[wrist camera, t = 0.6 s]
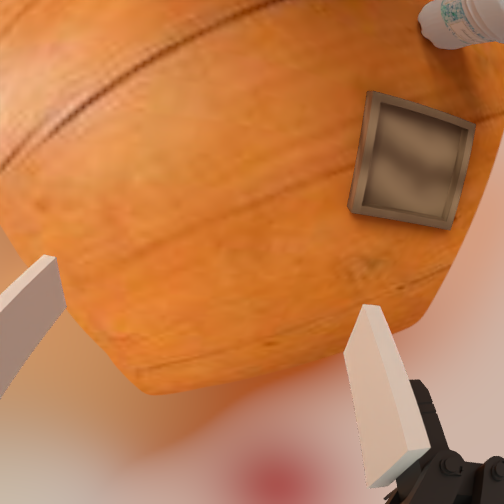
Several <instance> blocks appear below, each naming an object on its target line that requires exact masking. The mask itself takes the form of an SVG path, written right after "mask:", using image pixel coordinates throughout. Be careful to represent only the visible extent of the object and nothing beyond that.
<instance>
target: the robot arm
mask: <svg viewBox="0 0 504 504" xmlns="http://www.w3.org/2000/svg"><path fill="white" fill-rule="evenodd" d="M66 307H67V306H66V302H65V297H64V293H63V289H62V284H61V279H60V274H59V269H58V264H57V258H56V257H53V256H48V255H43V256H42V257H41V258H39V259H38V260H37V261H36V262H35V263H34V264H33V265H32V266H30V267H29V268H28V269H27V270H26V271H25V272H24V273H23V274H22V275H21V276H20V277H19V278H17V279H16V280H15V281H14V282H13V283H12V284H11V285H10V286H9V287H8V288H7V289H6V290H5V291H4V292H3V293H2V294H1V295H0V399H1V397H2V396H3V394H4V393H5V391H6V390H7V388H8V386H9V385H10V383H11V382H12V380H13V379H14V378H15V376H16V375H17V373H18V372H19V370H20V369H21V367H22V366H23V364H24V363H25V361H26V360H27V359H28V357H29V356H30V354H31V353H32V352H33V350H34V349H35V347H36V346H37V345H38V344H39V342H40V341H41V340H42V338H43V337H44V336H45V334H46V333H47V331H48V330H49V329H50V328H51V326H52V325H53V324H54V323H55V321H56V320H57V319H58V317H59V316H60V315H61V313H62V312H63V311H64V310H65V309H66ZM343 354H344V358H345V363H346V368H347V373H348V378H349V383H350V388H351V393H352V399H353V404H354V409H355V415H356V421H357V426H358V433H359V439H360V445H361V451H362V457H363V463H364V471H365V478H366V486H367V488H376V487H385V486H388V485H389V484H391V483H392V482H393V481H394V480H396V482H397V488H396V489H394V490H393V491H392V492H390V493H389V494H388V495H387V496H386V497H385V498H384V500H387V499H388V498H389V499H388V501H387V502H386V503H385V504H504V458H502V457H500V456H493V457H491V458H489V459H488V460H487V461H486V462H485V463H484V464H480V463H472V462H465V461H464V460H463V458H462V457H461V456H460V455H459V454H458V453H457V452H455V451H452V450H450V449H449V447H448V445H447V442H446V439H445V436H444V433H443V430H442V427H441V424H440V421H439V418H438V415H437V414H436V410H435V407H434V404H432V402H433V401H432V399H431V396H430V393H429V391H428V389H427V388H426V387H425V386H424V384H423V383H422V382H421V381H420V380H409V379H408V376H407V373H406V370H405V368H404V365H403V362H402V360H401V357H400V354H399V352H398V349H397V347H396V344H395V342H394V339H393V337H392V334H391V332H390V329H389V327H388V324H387V322H386V319H385V317H384V314H383V312H382V310H381V307H380V306H376V305H367V304H363V305H362V308H361V311H360V313H359V316H358V318H357V321H356V323H355V326H354V328H353V331H352V333H351V336H350V338H349V341H348V343H347V345H346V348H345V350H344V353H343Z"/></svg>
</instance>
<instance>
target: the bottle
mask: <svg viewBox="0 0 504 504" xmlns="http://www.w3.org/2000/svg"><path fill="white" fill-rule="evenodd" d="M418 22H419V23H420V24H421V28H422V30H421V33H422V35H423V36H424V37H425V38H427V39H429V40H430V41H431V42H432V43H433V45H434V46H435V47H437V48H440V49H448V50H453V49H459V48H462V47H466V46H469V45H472V44H479V43H485V42H493V41H497V42H499V43H504V0H434V1H432V2H429V3H428V4H426V5H425V6H424V7H423V9H422V10H421V12H420V13H419V15H418Z"/></svg>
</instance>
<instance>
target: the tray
mask: <svg viewBox="0 0 504 504" xmlns="http://www.w3.org/2000/svg"><path fill="white" fill-rule="evenodd" d="M475 127H476V124H474V123H471V122H469V121H466V120H464V119H461V118H458V117H456V116H453V115H450V114H448V113H445V112H442V111H439V110H436V109H433V108H430V107H427V106H424V105H421V104H418V103H415V102H412V101H408V100H405V99H401V98H398V97H394V96H391V95H387V94H383V93H379V92H375V91H367V96H366V103H365V110H364V116H363V123H362V129H361V135H360V141H359V147H358V153H357V158H356V164H355V169H354V174H353V179H352V185H351V190H350V194H349V199H348V204H347V207H348V208H349V210H350V211H351V213H356V214H362V215H368V216H374V217H380V218H386V219H392V220H398V221H403V222H409V223H414V224H420V225H425V226H430V227H435V228H441V229H446V230H451V227H452V223H453V220H454V217H455V214H456V210H457V207H458V203H459V200H460V196H461V192H462V188H463V184H464V180H465V176H466V172H467V168H468V163H469V159H470V154H471V149H472V144H473V139H474V133H475Z"/></svg>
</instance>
